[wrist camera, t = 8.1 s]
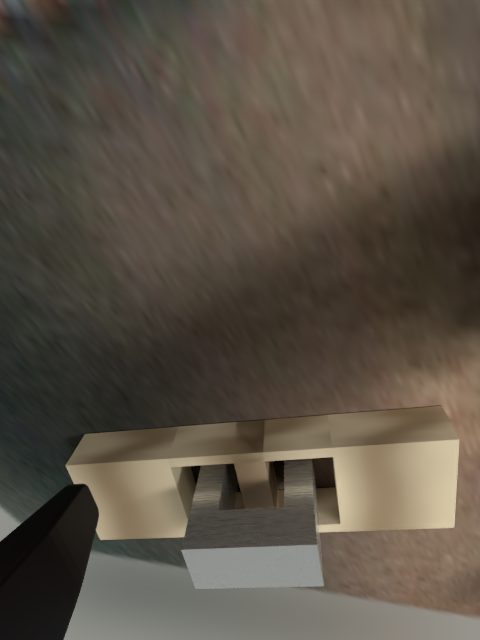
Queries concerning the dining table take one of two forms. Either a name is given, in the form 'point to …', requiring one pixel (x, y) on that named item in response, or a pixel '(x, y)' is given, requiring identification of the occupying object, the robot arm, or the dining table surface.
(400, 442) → the rail
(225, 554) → the clip
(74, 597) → the robot arm
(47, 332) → the dining table surface
